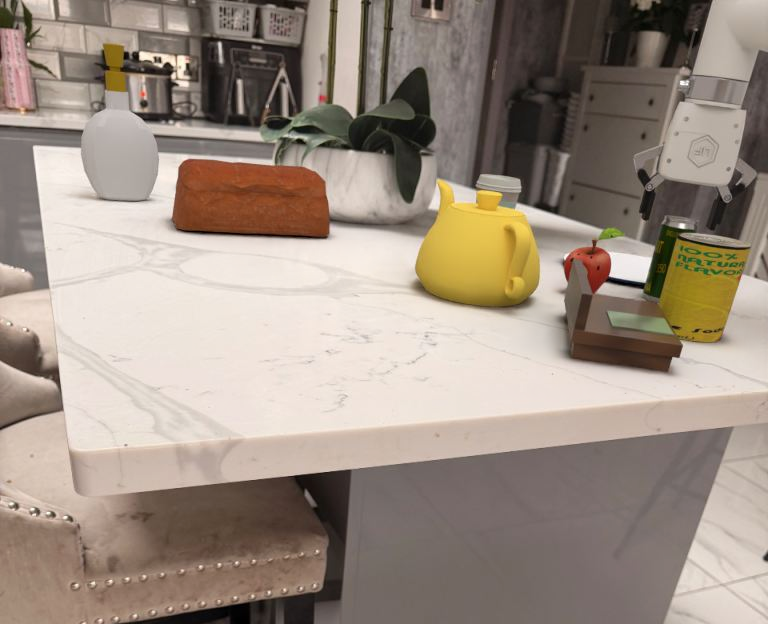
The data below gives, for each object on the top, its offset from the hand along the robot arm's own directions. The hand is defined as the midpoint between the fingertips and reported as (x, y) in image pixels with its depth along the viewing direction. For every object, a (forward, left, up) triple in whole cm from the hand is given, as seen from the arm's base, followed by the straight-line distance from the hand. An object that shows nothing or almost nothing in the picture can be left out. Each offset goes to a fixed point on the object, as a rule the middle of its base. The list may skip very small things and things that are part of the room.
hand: (677, 224), depth 114 cm
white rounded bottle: (+100, -24, -11) cm, 103 cm away
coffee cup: (+28, -28, -11) cm, 41 cm away
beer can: (0, 0, -11) cm, 11 cm away
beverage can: (-1, +18, -11) cm, 22 cm away
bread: (+70, -12, -11) cm, 71 cm away
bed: (+10, +29, -11) cm, 33 cm away
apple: (+12, +4, -11) cm, 17 cm away
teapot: (+29, +12, -11) cm, 33 cm away
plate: (+2, -19, -11) cm, 22 cm away
